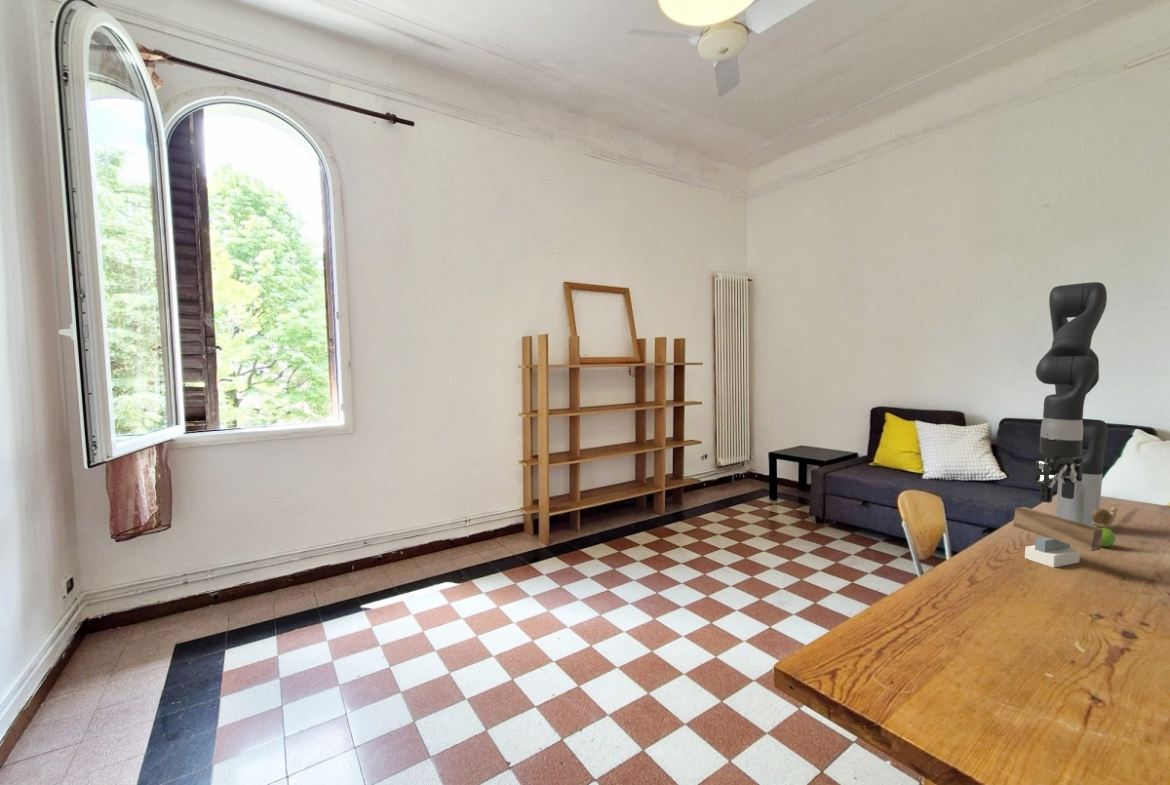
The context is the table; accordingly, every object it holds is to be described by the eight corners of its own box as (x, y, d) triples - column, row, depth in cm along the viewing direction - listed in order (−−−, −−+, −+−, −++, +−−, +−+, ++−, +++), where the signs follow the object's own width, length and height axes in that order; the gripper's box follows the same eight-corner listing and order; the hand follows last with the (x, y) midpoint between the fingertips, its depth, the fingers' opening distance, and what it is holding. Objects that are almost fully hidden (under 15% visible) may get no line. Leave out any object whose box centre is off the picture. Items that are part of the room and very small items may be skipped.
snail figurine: (1124, 549, 129) (1128, 506, 128) (1100, 549, 129) (1103, 505, 129) (1103, 542, 135) (1106, 500, 134) (1080, 542, 135) (1083, 500, 134)
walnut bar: (1022, 524, 130) (1024, 506, 129) (1100, 549, 115) (1103, 529, 114) (1013, 526, 129) (1015, 508, 128) (1091, 551, 114) (1093, 531, 113)
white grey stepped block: (1050, 553, 127) (1051, 531, 126) (1079, 562, 121) (1081, 539, 121) (1024, 557, 124) (1026, 535, 123) (1053, 567, 118) (1055, 543, 118)
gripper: (1060, 432, 126) (1056, 493, 127) (1024, 435, 121) (1020, 498, 123) (1098, 437, 119) (1093, 501, 120) (1061, 440, 114) (1056, 507, 116)
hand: (1056, 499), depth 121 cm, fingers open, 8 cm apart
